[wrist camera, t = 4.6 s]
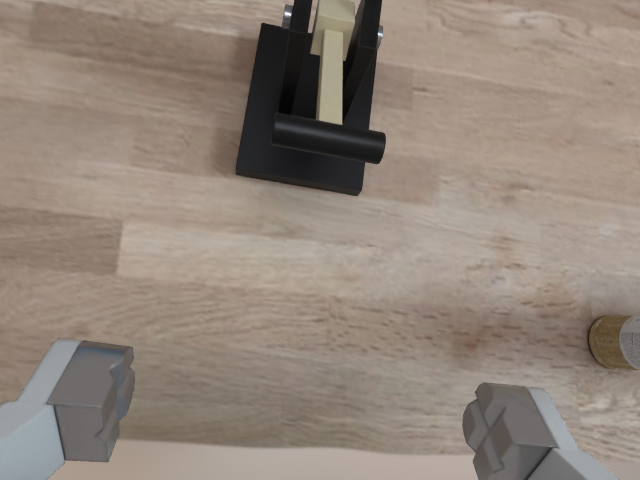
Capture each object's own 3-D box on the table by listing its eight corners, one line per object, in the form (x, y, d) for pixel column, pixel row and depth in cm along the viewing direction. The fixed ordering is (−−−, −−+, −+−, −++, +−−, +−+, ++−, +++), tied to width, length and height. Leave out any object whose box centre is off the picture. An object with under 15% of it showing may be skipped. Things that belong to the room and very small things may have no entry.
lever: (374, 178, 21) (390, 137, 19) (267, 159, 20) (274, 114, 19) (365, 44, 30) (376, 6, 28) (290, 28, 29) (296, -12, 27)
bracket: (357, 195, 37) (412, 127, 25) (236, 175, 36) (230, 91, 24) (373, 57, 40) (429, -65, 28) (261, 34, 39) (268, -107, 26)
